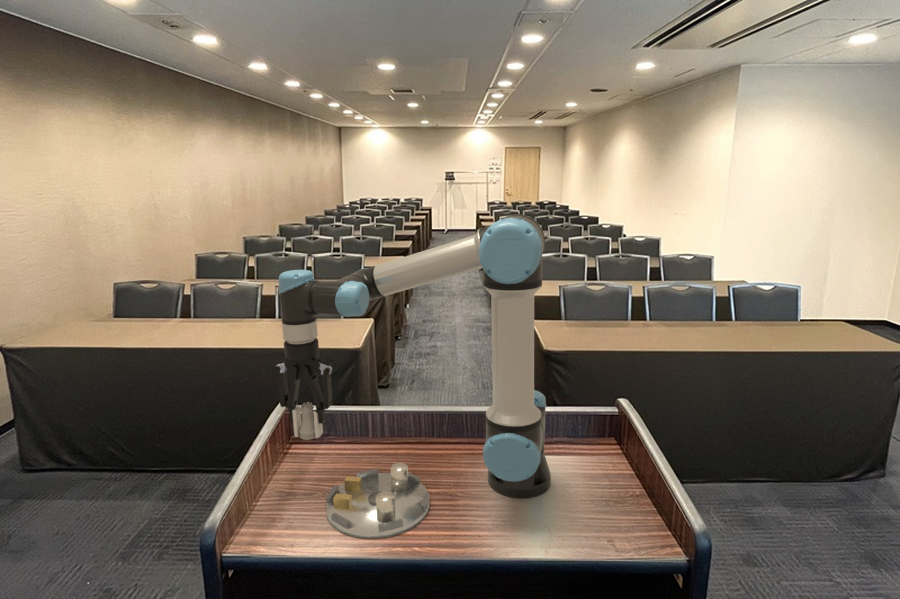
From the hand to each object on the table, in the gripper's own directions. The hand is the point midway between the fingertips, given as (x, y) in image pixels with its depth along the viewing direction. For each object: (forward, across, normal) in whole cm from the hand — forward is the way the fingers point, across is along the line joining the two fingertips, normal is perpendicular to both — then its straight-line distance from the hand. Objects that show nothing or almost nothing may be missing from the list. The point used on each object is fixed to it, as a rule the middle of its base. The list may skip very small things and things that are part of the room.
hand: (308, 434), depth 130 cm
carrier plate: (+14, -18, +5) cm, 23 cm away
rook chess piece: (+1, 0, 0) cm, 1 cm away
